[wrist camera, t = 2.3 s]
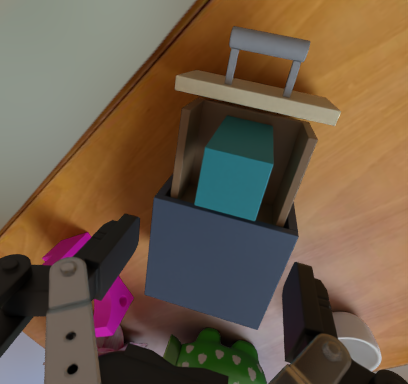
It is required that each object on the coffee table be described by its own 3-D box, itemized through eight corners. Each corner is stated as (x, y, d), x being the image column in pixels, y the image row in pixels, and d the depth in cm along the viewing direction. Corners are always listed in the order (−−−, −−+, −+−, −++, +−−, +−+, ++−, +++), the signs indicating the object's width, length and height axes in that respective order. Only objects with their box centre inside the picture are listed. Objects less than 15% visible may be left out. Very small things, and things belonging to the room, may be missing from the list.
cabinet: (178, 165, 35) (153, 197, 28) (292, 194, 34) (298, 236, 26) (167, 250, 43) (144, 294, 35) (260, 278, 41) (257, 330, 33)
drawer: (202, 22, 27) (182, 15, 21) (344, 50, 25) (366, 50, 19) (179, 182, 35) (160, 209, 29) (283, 209, 34) (286, 244, 28)
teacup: (302, 315, 43) (306, 348, 38) (348, 296, 39) (358, 329, 34) (341, 352, 44) (350, 388, 40) (388, 337, 41) (403, 374, 36)
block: (226, 115, 29) (204, 147, 20) (273, 125, 28) (273, 163, 19) (217, 158, 31) (193, 205, 22) (260, 168, 31) (255, 221, 21)
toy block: (61, 240, 47) (27, 271, 40) (87, 232, 44) (56, 263, 38) (107, 302, 52) (84, 338, 45) (133, 297, 50) (113, 335, 43)
